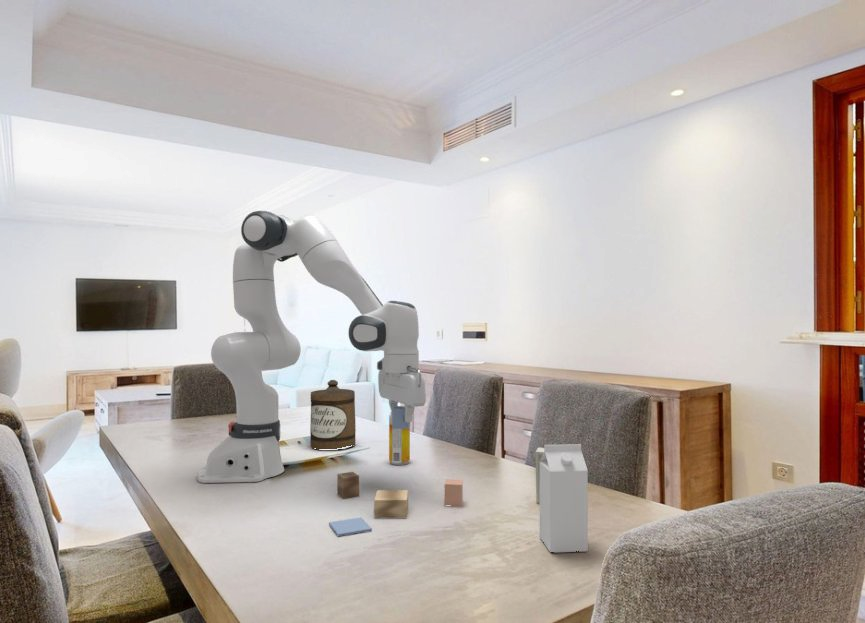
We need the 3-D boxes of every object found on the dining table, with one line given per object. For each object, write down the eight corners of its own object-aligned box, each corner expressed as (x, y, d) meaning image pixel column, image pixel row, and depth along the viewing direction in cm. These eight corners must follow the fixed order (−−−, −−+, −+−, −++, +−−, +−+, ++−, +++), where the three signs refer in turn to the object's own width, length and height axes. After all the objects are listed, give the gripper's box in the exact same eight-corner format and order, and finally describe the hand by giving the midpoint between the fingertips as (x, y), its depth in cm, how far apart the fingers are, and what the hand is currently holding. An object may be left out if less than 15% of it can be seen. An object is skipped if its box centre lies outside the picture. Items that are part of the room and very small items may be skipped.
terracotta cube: (444, 506, 128) (444, 484, 128) (445, 500, 132) (445, 479, 132) (462, 506, 128) (462, 484, 128) (462, 500, 132) (462, 479, 132)
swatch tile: (337, 536, 110) (337, 534, 110) (328, 524, 116) (328, 522, 116) (371, 531, 113) (371, 528, 113) (361, 519, 119) (361, 517, 119)
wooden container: (301, 449, 182) (302, 381, 182) (323, 439, 196) (323, 377, 196) (343, 452, 178) (343, 383, 178) (362, 442, 192) (362, 378, 192)
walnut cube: (343, 499, 133) (343, 478, 133) (337, 494, 136) (337, 474, 136) (359, 496, 135) (359, 475, 135) (352, 492, 138) (352, 471, 138)
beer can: (411, 460, 168) (411, 410, 168) (408, 465, 162) (408, 414, 162) (391, 460, 168) (391, 410, 169) (387, 465, 162) (387, 413, 163)
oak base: (374, 518, 120) (374, 500, 120) (377, 507, 127) (377, 490, 127) (406, 518, 120) (406, 500, 121) (408, 507, 127) (408, 490, 128)
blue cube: (392, 428, 140) (392, 408, 140) (394, 425, 144) (394, 406, 144) (408, 429, 139) (408, 408, 140) (410, 425, 143) (410, 406, 144)
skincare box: (564, 500, 132) (564, 448, 132) (562, 506, 128) (562, 453, 128) (537, 497, 134) (537, 446, 134) (535, 503, 130) (535, 450, 130)
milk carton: (539, 538, 109) (539, 440, 109) (574, 537, 110) (574, 440, 110) (550, 553, 102) (550, 449, 102) (587, 552, 103) (587, 448, 103)
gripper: (432, 367, 134) (432, 425, 134) (395, 361, 152) (395, 412, 152) (408, 368, 131) (408, 428, 131) (374, 362, 149) (374, 414, 149)
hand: (401, 419), depth 142 cm, fingers closed on blue cube, 6 cm apart
